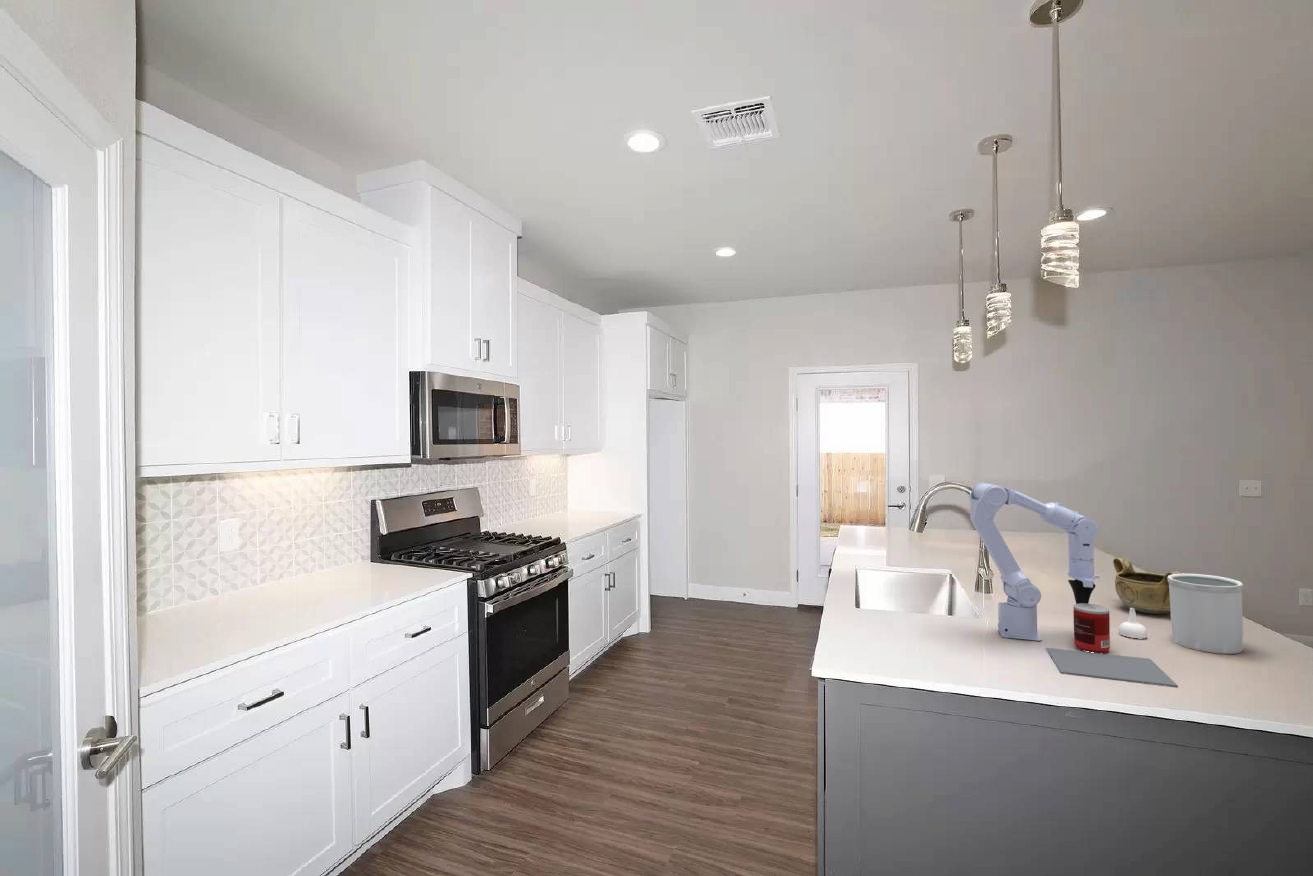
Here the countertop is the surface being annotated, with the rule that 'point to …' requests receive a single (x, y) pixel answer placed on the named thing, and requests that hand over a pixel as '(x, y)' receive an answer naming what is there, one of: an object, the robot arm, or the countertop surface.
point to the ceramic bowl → (1142, 588)
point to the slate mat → (1109, 666)
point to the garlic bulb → (1132, 627)
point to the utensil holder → (1206, 612)
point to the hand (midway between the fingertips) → (1081, 607)
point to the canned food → (1091, 627)
